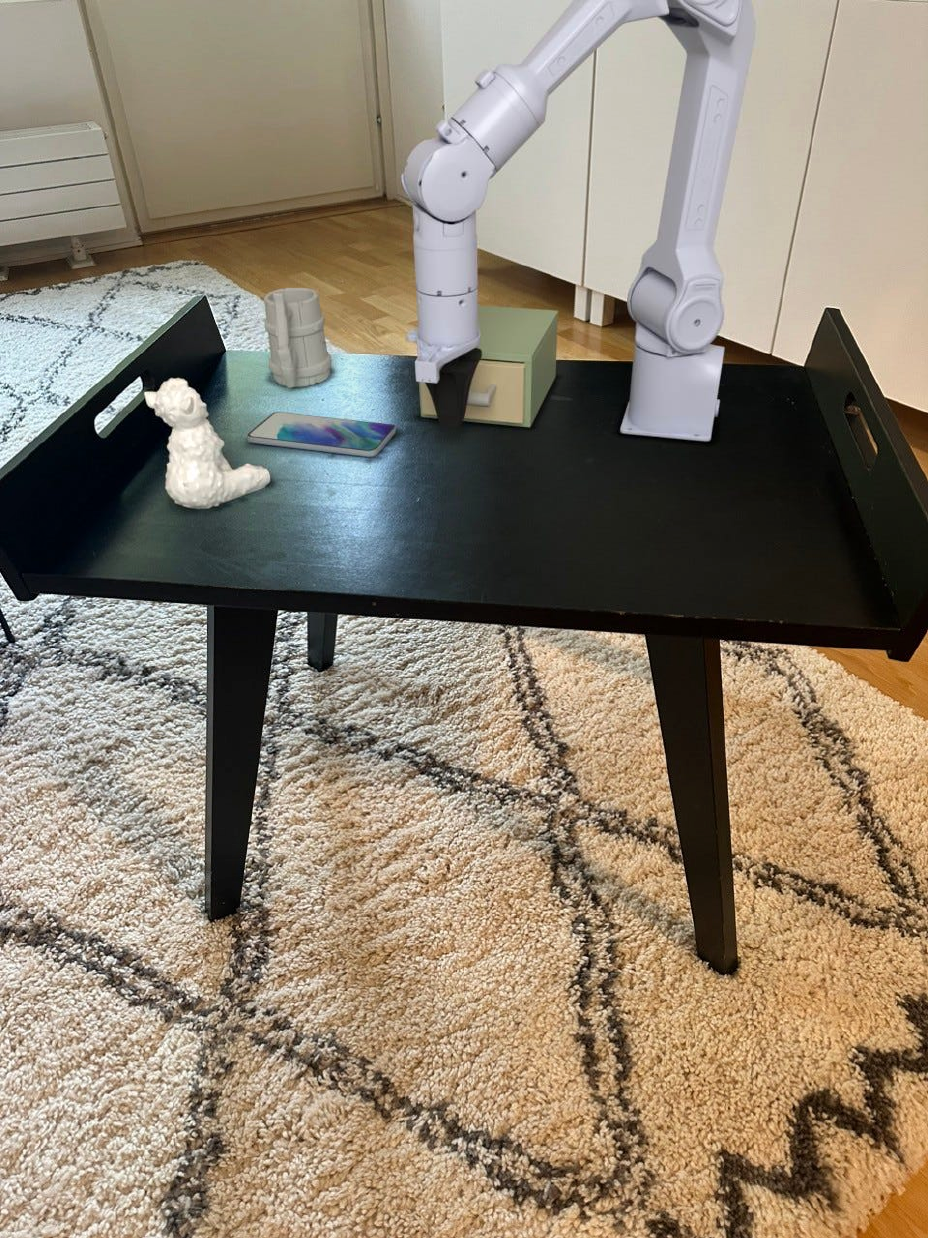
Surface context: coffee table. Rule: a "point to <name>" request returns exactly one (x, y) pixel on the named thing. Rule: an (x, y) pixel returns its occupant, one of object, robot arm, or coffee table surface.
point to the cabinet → (520, 350)
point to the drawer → (491, 393)
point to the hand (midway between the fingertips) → (451, 424)
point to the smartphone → (323, 434)
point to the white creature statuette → (198, 452)
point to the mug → (296, 337)
